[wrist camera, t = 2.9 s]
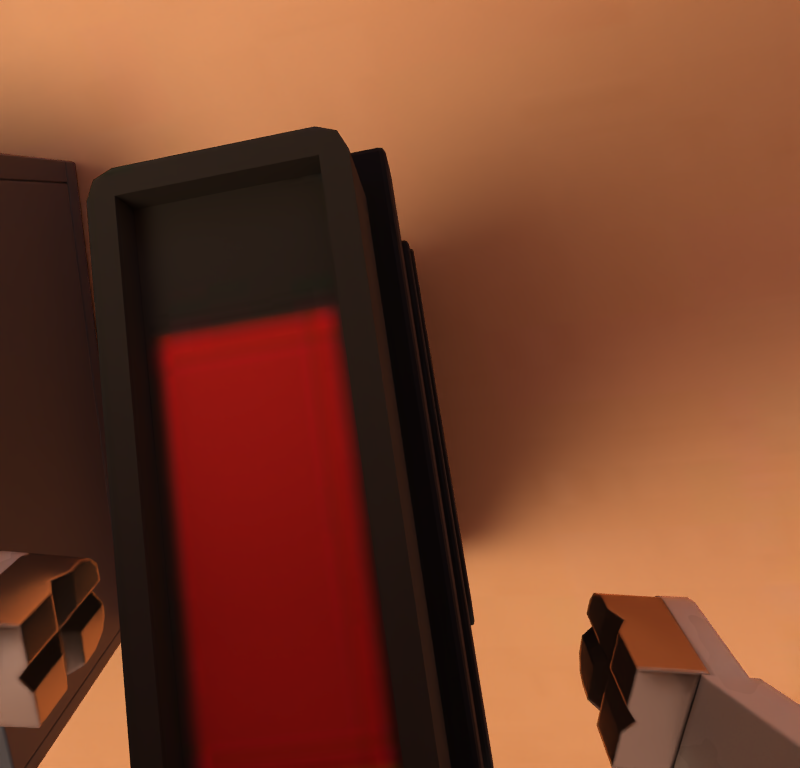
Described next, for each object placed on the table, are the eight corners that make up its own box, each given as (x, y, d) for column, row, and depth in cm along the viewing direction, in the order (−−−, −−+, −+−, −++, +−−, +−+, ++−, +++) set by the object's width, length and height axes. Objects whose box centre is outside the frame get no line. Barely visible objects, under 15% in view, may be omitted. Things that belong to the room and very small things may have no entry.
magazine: (378, 664, 20) (138, 1330, 5) (330, 314, 21) (45, 16, 7) (480, 652, 19) (562, 1326, 5) (424, 298, 21) (348, -54, 6)
